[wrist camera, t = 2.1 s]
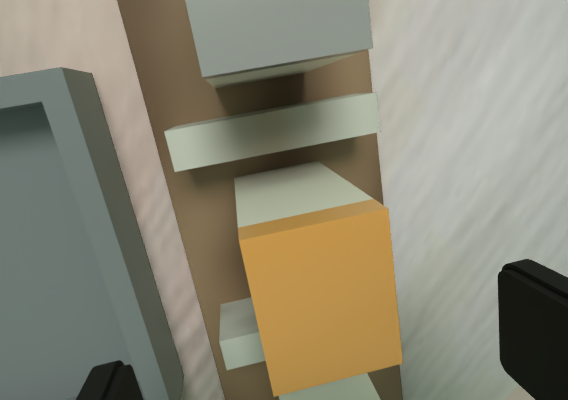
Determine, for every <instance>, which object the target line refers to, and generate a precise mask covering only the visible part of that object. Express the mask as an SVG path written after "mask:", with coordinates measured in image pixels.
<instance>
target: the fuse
mask: <svg viewBox="0 0 568 400" xmlns="http://www.w3.org/2000/svg"><path fill="white" fill-rule="evenodd" d="M185 2H186V6H187V11H188V15H189V20H190V24H191V29H192V33H193V38H194V42H195V47H196V51H197V55H198V60H199V64H200V69H201V73H202V77H203V78H204V79H205V80H206V81H207V82H208V83H209V84H210V85H211V86H213V87H214V88H220V87H226V86H232V85H238V84H243V83H249V82H255V81H260V80H266V79H272V78H277V77H283V76H289V75H295V74H300V73H305V72H308V71H311V70H313V69H316V68H319V67H322V66H324V65H327V64H330V63H333V62H335V61H338V60H341V59H344V58H346V57H349V56H352V55H355V54H357V53H360V52H363V51H366V50H368V49H371V48H373V44H372V34H371V23H370V13H369V2H368V0H185Z"/></svg>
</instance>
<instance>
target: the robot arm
mask: <svg viewBox="0 0 568 400" xmlns="http://www.w3.org/2000/svg"><path fill="white" fill-rule="evenodd" d="M498 302H499V344H500V361H501V364H502V366H503V368H504V370H505V371H506V372H507V374H508V375H509V376H511V377H512V378H513V379H514V380H515V381H516V382H517V383H518V384H519V385H520V386H521V387H522V388H523V389H525V390H526V391H527V392H528V393H529V394H530V395H531V396H532V397H533V398H534V399H535V400H568V277H565V276H563V275H561V274H559V273H557V272H555V271H553V270H551V269H549V268H547V267H545V266H543V265H541V264H539V263H537V262H535V261H533V260H529V259H524V260H520V261H516V262H512V263H508V264H505V265H504V266H503V268H502V271H501V272H499V274H498ZM76 400H144V399H143V397H142V394H141V391H140V388H139V385H138V382H137V379H136V376H135V373H134V370H133V367H132V366H131V365H130V364H128V365H124V363H123V362H122V361H121V360H118V361H114V362H109V363H105V364H101V365H97V366H95V367H93V368H92V369H91V371H90V373H89V375H88V377H87V379H86V381H85V383H84V385H83V387H82V388H81V390H80V392H79V394H78V396H77V398H76Z"/></svg>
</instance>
